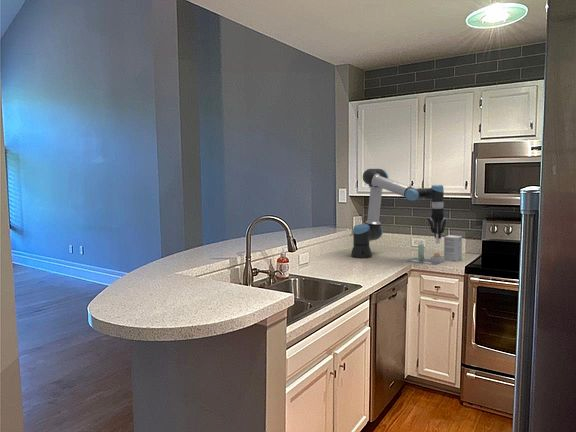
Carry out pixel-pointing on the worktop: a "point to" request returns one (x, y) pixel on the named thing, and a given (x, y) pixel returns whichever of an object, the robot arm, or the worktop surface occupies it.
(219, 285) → the worktop surface
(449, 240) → the supplement box
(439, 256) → the button
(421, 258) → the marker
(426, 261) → the button panel board
